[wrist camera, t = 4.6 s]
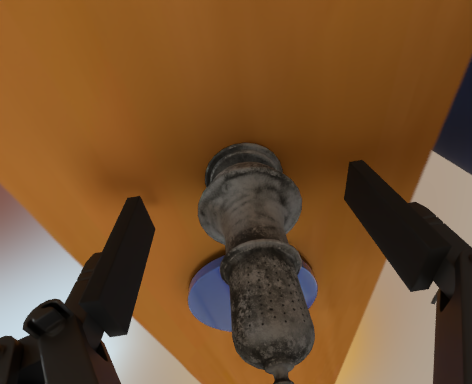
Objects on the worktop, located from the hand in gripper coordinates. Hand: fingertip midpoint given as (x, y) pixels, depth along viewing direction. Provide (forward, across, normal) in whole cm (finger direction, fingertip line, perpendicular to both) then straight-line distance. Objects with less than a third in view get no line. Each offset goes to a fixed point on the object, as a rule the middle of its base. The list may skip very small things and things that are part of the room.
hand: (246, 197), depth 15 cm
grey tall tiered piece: (+2, 0, 0) cm, 2 cm away
